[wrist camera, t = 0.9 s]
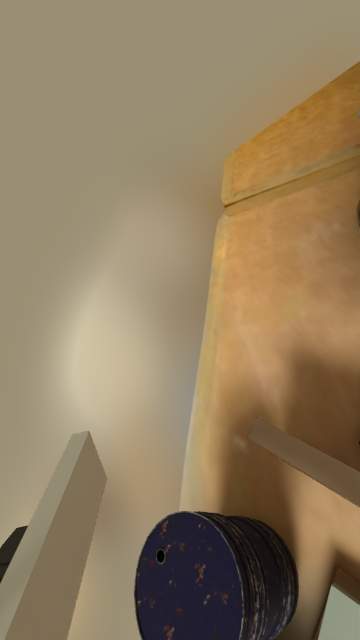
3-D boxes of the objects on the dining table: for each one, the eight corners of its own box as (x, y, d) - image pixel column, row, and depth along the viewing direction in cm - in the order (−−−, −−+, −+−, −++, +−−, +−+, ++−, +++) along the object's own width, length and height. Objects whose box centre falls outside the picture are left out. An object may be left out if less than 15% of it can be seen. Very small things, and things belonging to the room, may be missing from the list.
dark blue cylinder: (316, 564, 28) (271, 580, 18) (273, 670, 26) (196, 751, 16) (238, 498, 36) (175, 483, 26) (199, 576, 33) (113, 593, 23)
